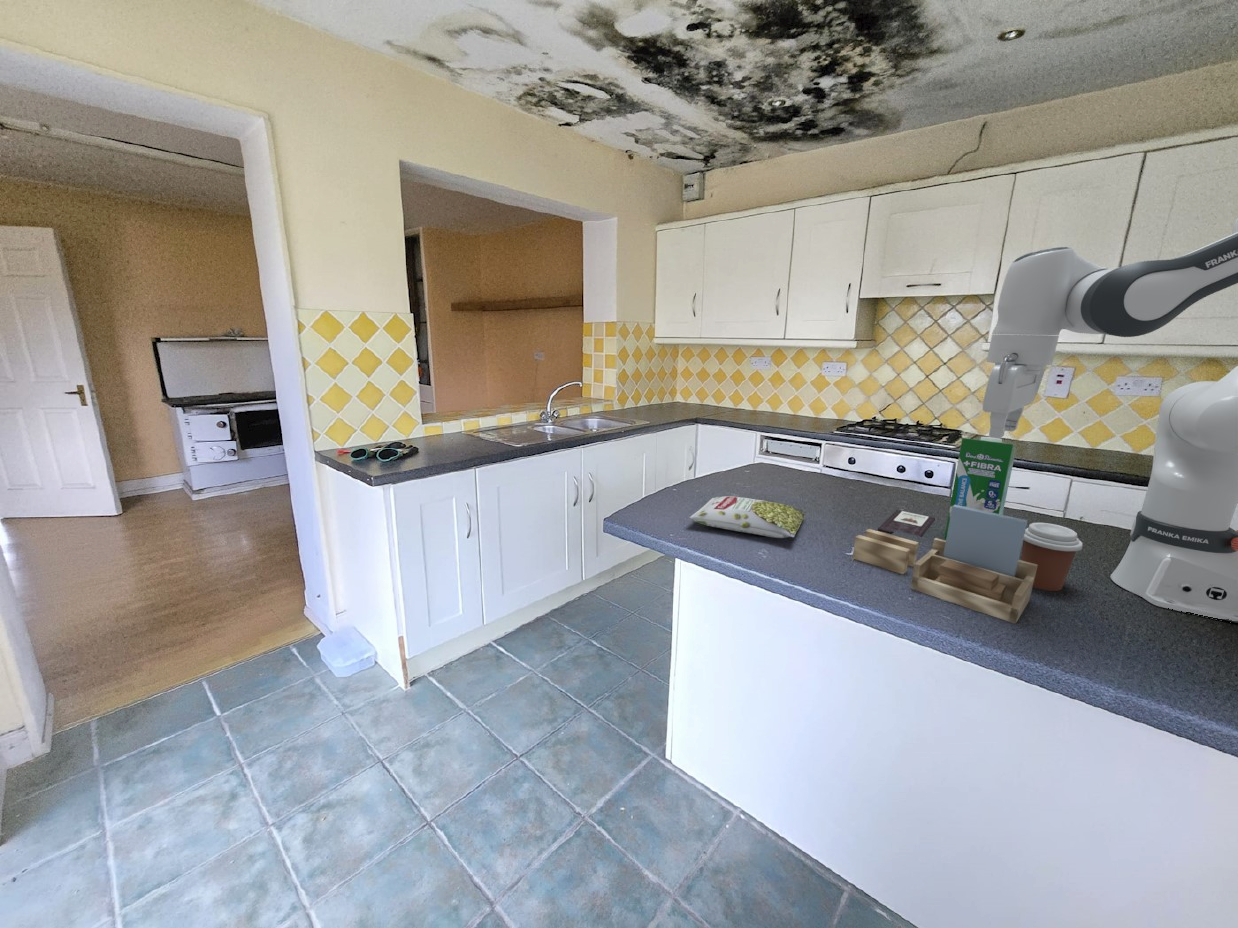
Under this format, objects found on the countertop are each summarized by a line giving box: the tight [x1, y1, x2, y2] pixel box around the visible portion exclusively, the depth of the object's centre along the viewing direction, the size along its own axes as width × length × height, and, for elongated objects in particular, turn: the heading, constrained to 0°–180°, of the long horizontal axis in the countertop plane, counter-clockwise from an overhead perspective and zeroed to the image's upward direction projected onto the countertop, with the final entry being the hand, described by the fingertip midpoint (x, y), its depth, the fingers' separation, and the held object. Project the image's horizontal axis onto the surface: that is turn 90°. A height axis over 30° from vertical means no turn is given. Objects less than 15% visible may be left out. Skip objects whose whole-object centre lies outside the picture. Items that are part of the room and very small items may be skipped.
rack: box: [909, 537, 1038, 625], centre depth 92 cm, size 16×11×8 cm
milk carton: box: [943, 436, 1017, 540], centre depth 115 cm, size 9×9×25 cm
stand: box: [851, 528, 920, 575], centre depth 106 cm, size 10×7×6 cm
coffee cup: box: [1020, 522, 1084, 592], centre depth 96 cm, size 9×9×12 cm
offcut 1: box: [939, 559, 999, 591], centre depth 91 cm, size 8×4×2 cm, turn 40°
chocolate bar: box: [876, 509, 935, 538], centre depth 129 cm, size 9×1×18 cm
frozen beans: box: [688, 495, 807, 539], centre depth 128 cm, size 21×6×25 cm
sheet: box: [943, 505, 1028, 577], centre depth 93 cm, size 11×2×15 cm, turn 43°
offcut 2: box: [940, 575, 1006, 601], centre depth 91 cm, size 9×4×2 cm, turn 45°
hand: (1002, 434), depth 89 cm, fingers open, 8 cm apart
